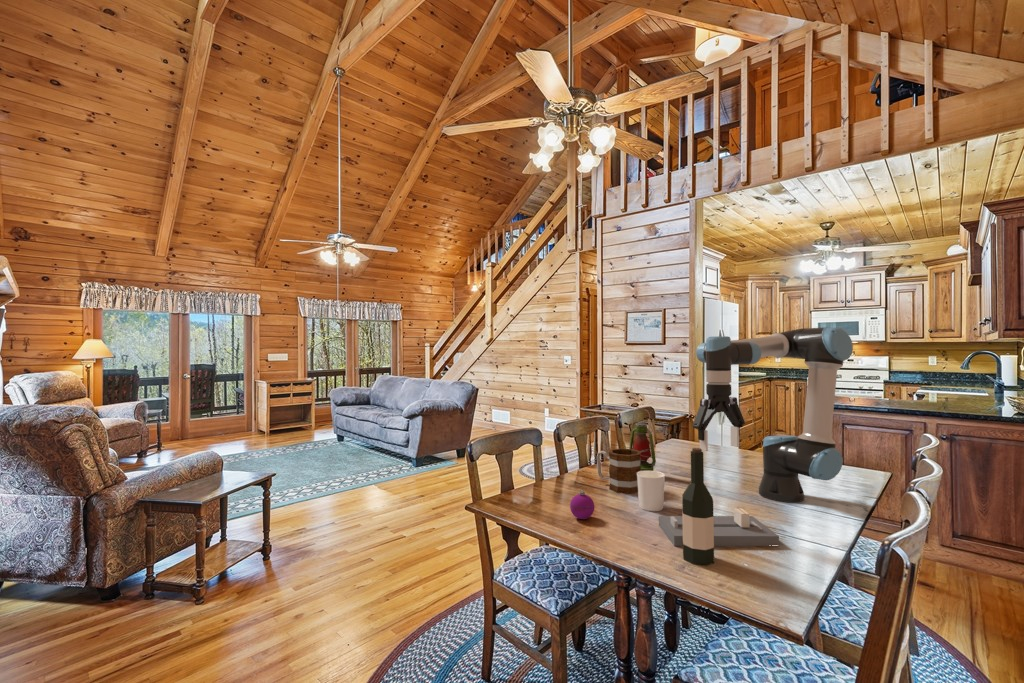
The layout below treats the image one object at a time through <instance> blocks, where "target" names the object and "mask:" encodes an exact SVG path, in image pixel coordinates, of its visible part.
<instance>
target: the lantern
mask: <svg viewBox="0 0 1024 683" xmlns="http://www.w3.org/2000/svg"><path fill="white" fill-rule="evenodd" d="M636 411H646V412H647V413H648V417H649V418H648V420H649V422H648V423H649V427H650V429H651V431H650V430H649V429H648V423H646V422H644V421H643V420H640V419H644V417H641V416H640V417H639V418H638V420H639V421H638V422H636V423H635V428H632V427H633V426H634V421H635V420H634V416H635V415H634V414H635V412H636ZM630 429H631V431H630V440H629V447H628V449H634V450H637V451H641V456H640V464H641V471H654V467H655V466H656V463H657V460H656V452H655V446H654V438H653V434H652V433H653V432H654V430H653V428H652V425H651V415H650V411H649V410H647V409H646V408H641V407H640V408H639V407H638V408H636V409H634V410H633V412H632V424H631V425H630ZM635 433H636V437H635ZM647 434H648V436H647ZM634 437H635V439H634ZM648 438H649V439H648ZM649 459H651V460H652V462H651V463H649V462H648V460H649Z"/></svg>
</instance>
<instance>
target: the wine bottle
mask: <svg viewBox="0 0 1024 683" xmlns="http://www.w3.org/2000/svg"><path fill="white" fill-rule="evenodd" d="M704 469H705V468H704V451H703V450H702V449H700V447H693V448H692V449H691V451H690V482H689V484H688V485H687V487H686V489H685V490H683V493H682V496H681V497H682V498H681V499H682V500H681V501H682V516H683V546H682V556H683V557H682V558H683V560H684V561H686V562H688V563H689V564H692V565H696V566H703V567H706V566H709V565H713V564H715V546H714V516H715V515H714V498H713V496H712V494H711V493H710V492H709V490H708V487H707V486H706V485H705V480H704V478H705V477H704V476H705V472H704Z"/></svg>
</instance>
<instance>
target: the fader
mask: <svg viewBox="0 0 1024 683" xmlns="http://www.w3.org/2000/svg"><path fill="white" fill-rule="evenodd" d="M733 516H734V521H735V522H736V523H737V524H738V525H739V526H740V527H750V524H749V516H750V513H749V512H748V511H746V510H745V509H743V508H741V507H740V508H739V507H737V508H733Z"/></svg>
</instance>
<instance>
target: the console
mask: <svg viewBox="0 0 1024 683" xmlns="http://www.w3.org/2000/svg"><path fill="white" fill-rule="evenodd" d="M713 516H714V547H756V546H769V545H771V546H772V545H779V546H780V535H778V534H776V533H775V532H774V531H773V530H772V529H770V528H769V527H768V526H766V525H765V524H764V523H762V522H761V521H760V520H758V519H757V518H755V517H754V516H752V515H749V524H750V527H740V526H739V525H738V524H737V523H736V522H735V521H734V515H713ZM658 527H659V528H660V529H661V530H662V532H663V533H664V535H666V537H667V538H668V540H669V541H670V543H671V544H672V546H674V547H683V515H659V516H658Z"/></svg>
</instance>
